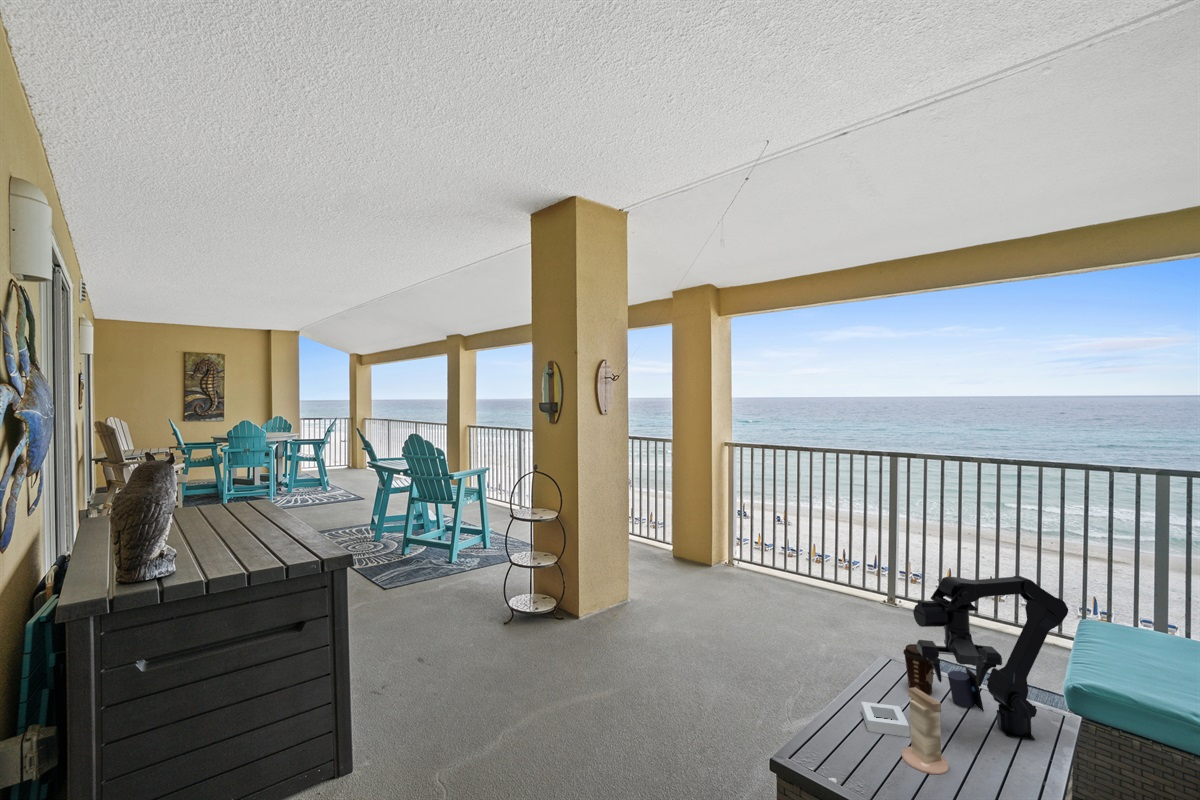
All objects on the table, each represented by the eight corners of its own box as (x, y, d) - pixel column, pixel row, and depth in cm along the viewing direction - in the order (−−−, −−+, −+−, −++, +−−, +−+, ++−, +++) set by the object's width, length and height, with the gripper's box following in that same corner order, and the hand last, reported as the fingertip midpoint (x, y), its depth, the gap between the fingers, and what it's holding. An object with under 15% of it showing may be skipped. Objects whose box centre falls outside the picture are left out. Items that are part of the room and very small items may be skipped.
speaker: (981, 701, 158) (975, 666, 159) (984, 712, 153) (978, 676, 154) (951, 698, 162) (945, 664, 162) (953, 708, 157) (947, 673, 157)
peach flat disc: (941, 752, 135) (941, 749, 135) (955, 777, 126) (955, 775, 126) (897, 745, 138) (897, 743, 138) (907, 770, 129) (907, 767, 129)
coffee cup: (933, 686, 168) (931, 644, 169) (940, 699, 160) (938, 656, 161) (902, 682, 171) (900, 641, 172) (907, 695, 163) (906, 652, 164)
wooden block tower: (921, 745, 137) (919, 686, 138) (947, 765, 129) (944, 702, 130) (906, 748, 136) (904, 688, 137) (931, 767, 128) (929, 705, 129)
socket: (899, 717, 151) (899, 706, 151) (909, 737, 142) (909, 725, 142) (861, 712, 154) (861, 701, 154) (868, 731, 145) (868, 720, 145)
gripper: (927, 633, 140) (929, 694, 139) (1010, 641, 134) (1013, 704, 134) (915, 618, 150) (917, 674, 150) (992, 624, 145) (994, 682, 144)
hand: (959, 683), depth 144 cm, fingers open, 9 cm apart
